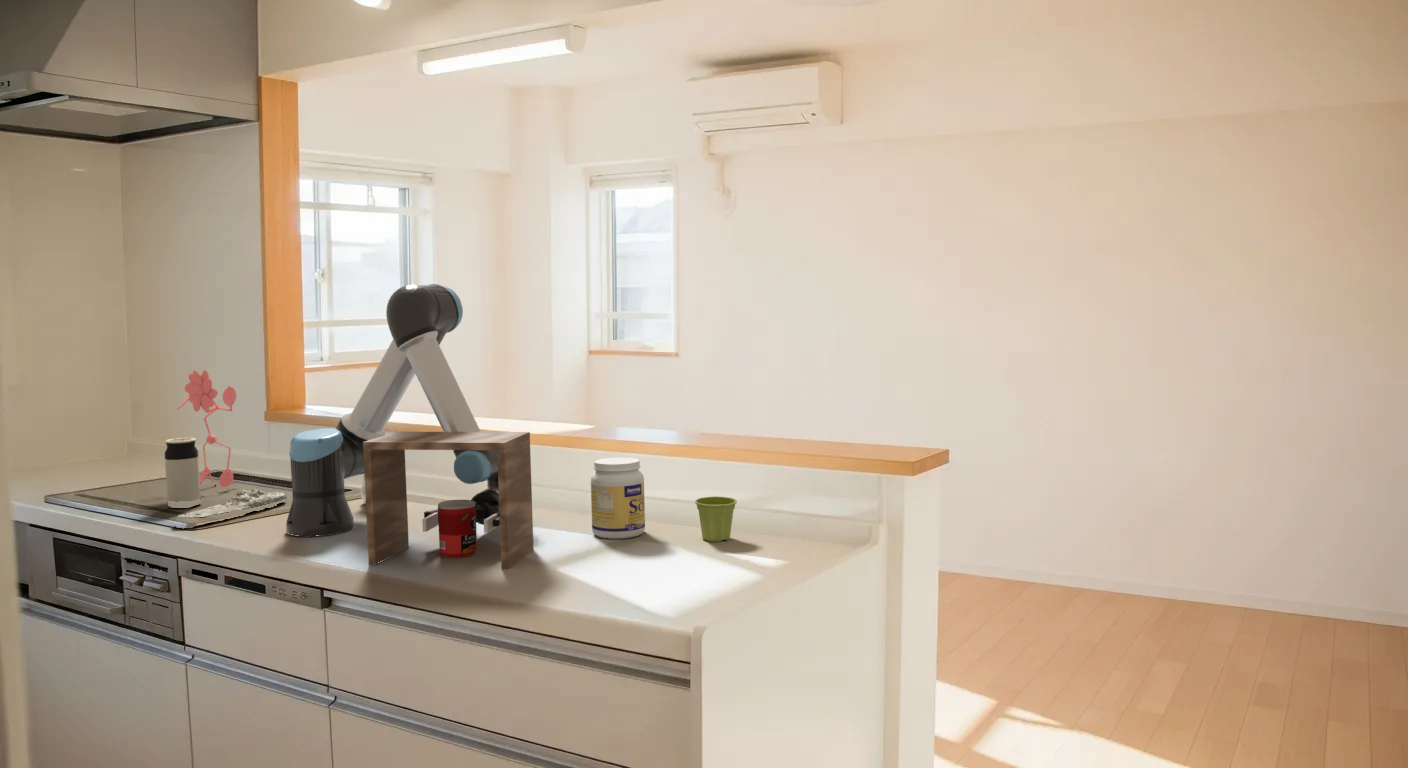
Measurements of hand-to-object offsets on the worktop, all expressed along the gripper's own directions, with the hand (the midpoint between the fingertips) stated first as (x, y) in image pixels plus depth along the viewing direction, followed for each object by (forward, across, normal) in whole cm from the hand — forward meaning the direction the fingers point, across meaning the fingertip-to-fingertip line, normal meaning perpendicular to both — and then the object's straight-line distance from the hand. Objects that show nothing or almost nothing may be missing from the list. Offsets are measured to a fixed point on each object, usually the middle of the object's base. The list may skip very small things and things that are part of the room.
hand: (454, 526), depth 228 cm
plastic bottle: (-54, +44, -7) cm, 70 cm away
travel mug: (-46, +94, -7) cm, 105 cm away
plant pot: (-20, -53, -7) cm, 57 cm away
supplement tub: (-23, -30, -7) cm, 38 cm away
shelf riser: (+1, 0, -6) cm, 7 cm away
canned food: (-2, 0, -7) cm, 7 cm away
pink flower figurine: (-67, +102, -7) cm, 122 cm away
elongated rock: (-37, +74, -7) cm, 83 cm away
